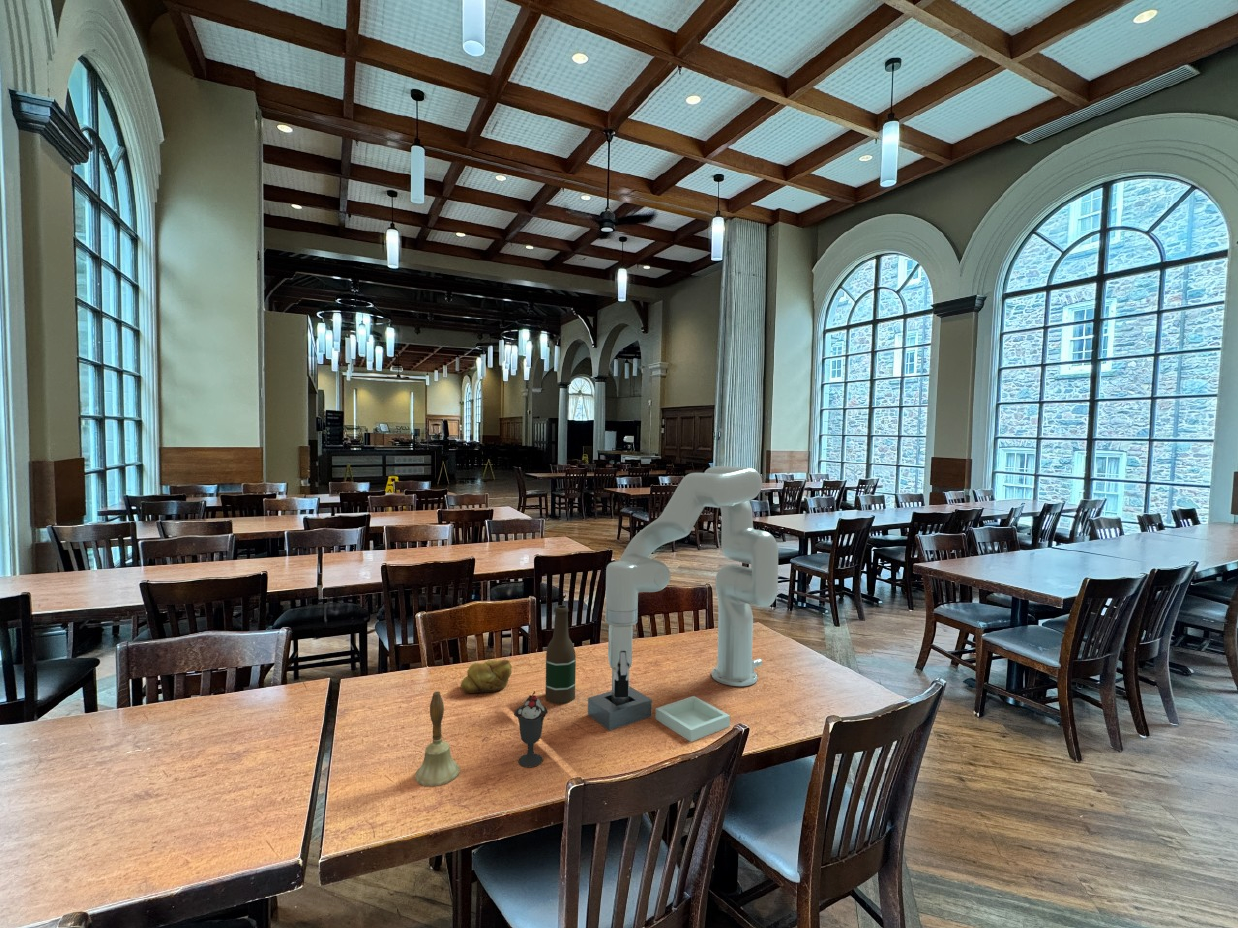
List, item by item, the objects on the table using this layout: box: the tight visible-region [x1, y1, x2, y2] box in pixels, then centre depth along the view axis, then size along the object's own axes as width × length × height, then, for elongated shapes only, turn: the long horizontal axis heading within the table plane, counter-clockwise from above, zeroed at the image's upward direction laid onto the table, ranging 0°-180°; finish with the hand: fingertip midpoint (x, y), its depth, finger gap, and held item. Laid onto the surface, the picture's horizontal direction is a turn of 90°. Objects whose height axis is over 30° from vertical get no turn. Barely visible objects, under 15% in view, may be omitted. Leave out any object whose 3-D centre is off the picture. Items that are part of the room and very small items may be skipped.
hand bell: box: [414, 691, 461, 787], centre depth 107 cm, size 8×8×16 cm
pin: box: [611, 664, 630, 706], centre depth 130 cm, size 4×4×12 cm
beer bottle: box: [545, 604, 577, 705], centre depth 139 cm, size 8×8×24 cm
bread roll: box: [460, 659, 513, 694], centre depth 146 cm, size 13×10×8 cm
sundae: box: [513, 690, 549, 768], centre depth 112 cm, size 7×7×15 cm
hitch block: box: [587, 685, 653, 732], centre depth 130 cm, size 12×9×5 cm
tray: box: [655, 695, 731, 743], centre depth 127 cm, size 12×12×4 cm
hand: (620, 691), depth 130 cm, fingers closed on pin, 4 cm apart
